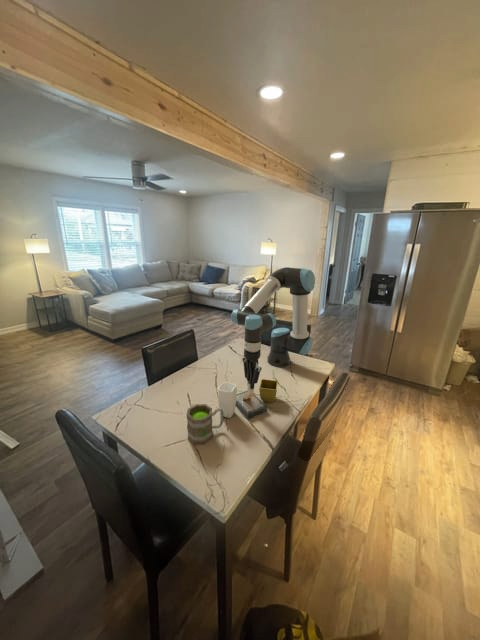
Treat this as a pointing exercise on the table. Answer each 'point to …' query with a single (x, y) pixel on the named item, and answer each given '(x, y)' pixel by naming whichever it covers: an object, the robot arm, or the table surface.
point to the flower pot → (268, 390)
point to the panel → (250, 405)
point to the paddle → (248, 396)
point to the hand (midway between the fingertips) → (250, 393)
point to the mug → (201, 423)
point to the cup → (227, 398)
